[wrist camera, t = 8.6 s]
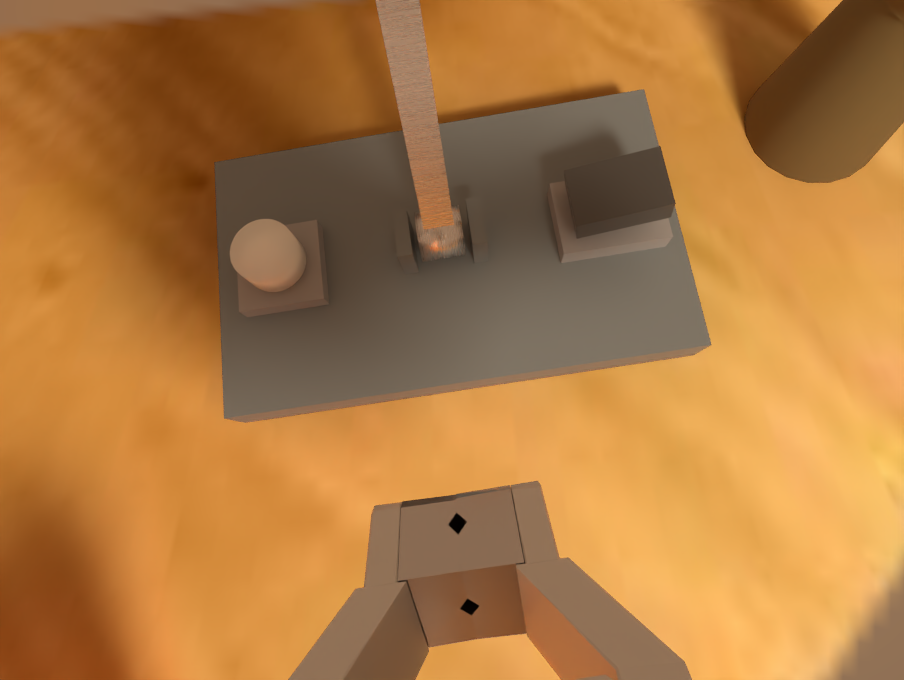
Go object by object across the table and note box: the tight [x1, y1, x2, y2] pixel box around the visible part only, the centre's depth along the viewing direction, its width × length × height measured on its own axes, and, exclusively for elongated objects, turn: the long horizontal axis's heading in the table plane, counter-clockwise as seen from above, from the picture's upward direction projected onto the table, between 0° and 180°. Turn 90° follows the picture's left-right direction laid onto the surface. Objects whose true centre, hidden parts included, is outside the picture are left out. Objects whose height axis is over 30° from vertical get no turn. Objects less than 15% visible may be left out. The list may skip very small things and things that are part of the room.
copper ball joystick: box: [375, 0, 466, 261], centre depth 18 cm, size 2×2×13 cm
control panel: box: [214, 89, 711, 423], centre depth 23 cm, size 20×12×4 cm, turn 98°
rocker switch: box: [564, 146, 675, 239], centre depth 21 cm, size 4×2×1 cm, turn 98°
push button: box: [230, 219, 306, 292], centre depth 22 cm, size 3×3×1 cm
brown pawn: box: [745, 0, 904, 183], centre depth 20 cm, size 6×6×11 cm
